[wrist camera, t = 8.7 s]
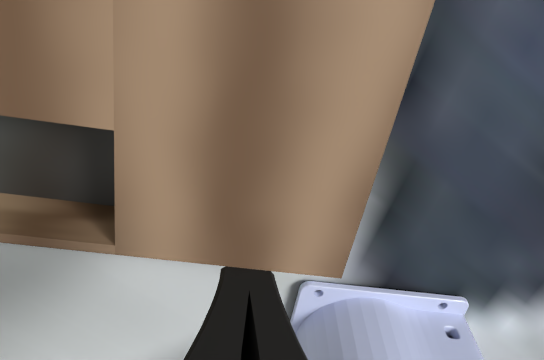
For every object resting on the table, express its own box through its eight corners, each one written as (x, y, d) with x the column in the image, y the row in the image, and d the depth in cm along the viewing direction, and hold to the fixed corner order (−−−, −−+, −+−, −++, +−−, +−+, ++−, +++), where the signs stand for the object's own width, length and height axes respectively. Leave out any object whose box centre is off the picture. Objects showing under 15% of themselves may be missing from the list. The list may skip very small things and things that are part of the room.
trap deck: (497, -307, 14) (552, -347, 11) (332, 235, 24) (341, 278, 22) (-390, -536, 11) (-578, -654, 9) (-140, 181, 22) (-192, 222, 19)
